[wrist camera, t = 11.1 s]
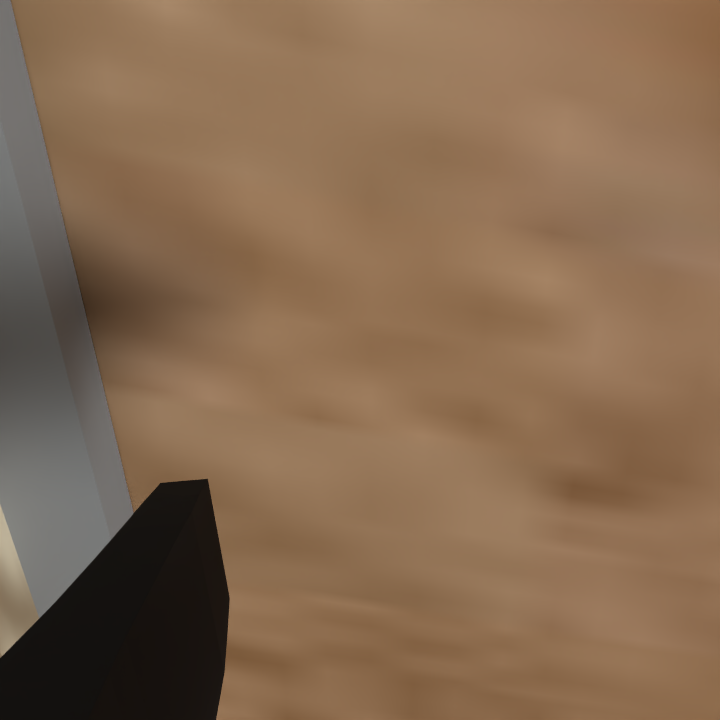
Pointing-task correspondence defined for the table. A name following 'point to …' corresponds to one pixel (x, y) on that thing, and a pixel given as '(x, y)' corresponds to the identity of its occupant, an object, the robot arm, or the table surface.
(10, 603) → the beige bar
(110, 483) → the loading dock
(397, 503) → the table surface
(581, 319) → the table surface
